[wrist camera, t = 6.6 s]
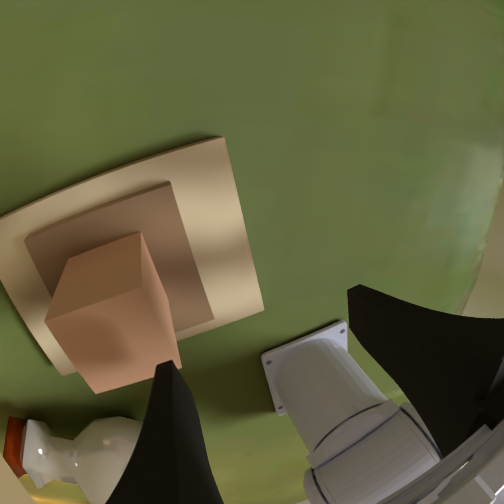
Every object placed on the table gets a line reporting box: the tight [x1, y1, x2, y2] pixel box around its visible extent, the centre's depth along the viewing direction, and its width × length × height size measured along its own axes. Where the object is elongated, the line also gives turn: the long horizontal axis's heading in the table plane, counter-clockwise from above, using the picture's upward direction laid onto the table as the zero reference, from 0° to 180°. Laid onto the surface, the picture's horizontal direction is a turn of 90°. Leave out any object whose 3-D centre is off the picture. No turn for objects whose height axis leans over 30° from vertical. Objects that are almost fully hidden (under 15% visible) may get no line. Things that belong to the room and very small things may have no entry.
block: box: [44, 231, 182, 394], centre depth 15 cm, size 4×4×6 cm
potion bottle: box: [3, 416, 143, 504], centre depth 20 cm, size 9×10×15 cm
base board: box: [0, 136, 264, 376], centre depth 18 cm, size 12×16×2 cm
